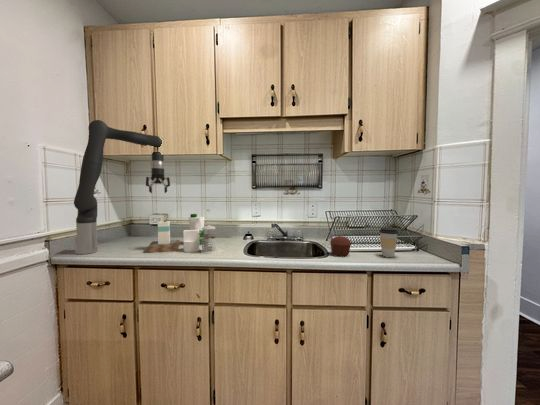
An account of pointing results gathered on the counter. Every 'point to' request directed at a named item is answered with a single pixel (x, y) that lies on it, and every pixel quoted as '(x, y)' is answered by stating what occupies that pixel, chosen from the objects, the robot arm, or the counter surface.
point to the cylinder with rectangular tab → (191, 240)
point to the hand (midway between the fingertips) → (158, 192)
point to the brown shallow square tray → (163, 246)
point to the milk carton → (197, 225)
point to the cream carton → (164, 232)
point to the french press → (208, 240)
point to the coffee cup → (388, 241)
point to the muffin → (340, 246)
